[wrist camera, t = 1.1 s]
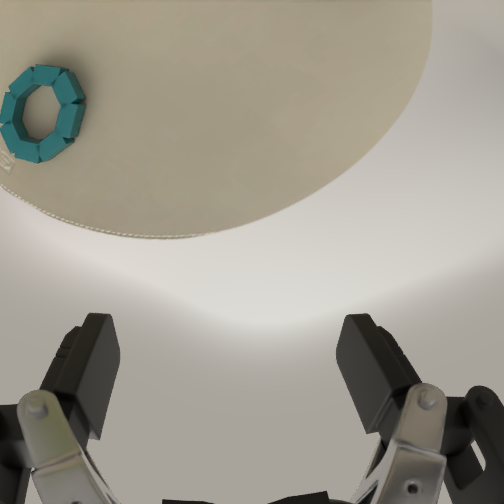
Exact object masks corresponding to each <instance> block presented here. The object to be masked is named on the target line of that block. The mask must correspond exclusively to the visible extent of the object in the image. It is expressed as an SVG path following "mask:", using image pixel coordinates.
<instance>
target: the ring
mask: <svg viewBox="0 0 504 504" xmlns="http://www.w3.org/2000/svg"><path fill="white" fill-rule="evenodd" d="M68 71H69V69H66V68H60V67H53V66H45V65H35V67H29V68H28V69H27V70H26V71H25V72H24V73H22V74H21V75H20V76H19V77H18V78H17V79H16V80H15V81H14V82H13V83H12V84H11V85H10V86H9V89H10V92H5V96H4V100H3V105H2V109H1V114H0V123H2V124H4V125H3V126H2V127H1V128H0V132H1V134H2V136H3V138H4V141H5V143H6V145H7V147H8V149H9V152H10V154H12V153H15V158H18V159H22V160H26V161H30V162H33V163H37V164H38V163H40V162H45V161H48V160H50V159H52V158H54V157H55V156H56V155H58V154H59V153H60V152H61V151H63V150H64V149H65V148H67V147H68V146H69V145H71V144H72V143H73V142H74V141H73V139H72V138H73V137H77V136H78V133H79V129H80V125H81V121H82V117H83V113H84V110H85V106H86V105H85V104H80V102H81V101H82V100H84V99H85V96H84V94H83V92H82V90H81V88H80V85H79V83H78V81H77V79H76V77H75V75H74V73H73V72H68ZM40 85H47V86H52V88H53V90H54V92H55V95H56V97H57V99H58V101H59V103H60V105H61V107H60V111H59V115H58V119H57V123H56V128H55V131H53V132H52V133H51V134H50V135H48V136H47V137H46V138H45V139H43V140H37V139H33V138H29V136H28V134H27V131H26V129H25V127H24V125H23V123H22V120H21V118H22V114H23V109H24V105H25V101H26V98H27V97H28V96H29V95H30V94H31V93H32V92H33V91H35V90H36V89H37V88H38V87H39V86H40Z"/></svg>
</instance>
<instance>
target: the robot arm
mask: <svg viewBox="0 0 504 504" xmlns="http://www.w3.org/2000/svg"><path fill="white" fill-rule="evenodd" d="M336 359H337V364H338V366H339V369H340V371H341V373H342V376H343V378H344V380H345V383H346V385H347V388H348V390H349V392H350V395H351V397H352V399H353V402H354V404H355V407H356V409H357V412H358V414H359V417H360V419H361V421H362V424H363V426H364V429H365V431H366V434H369V433H374V432H379V434H380V436H381V437H380V439H379V440H378V442H377V445H376V448H375V450H374V453H373V455H372V458H371V460H370V463H369V465H368V467H367V470H366V472H365V474H364V477H363V479H362V481H361V483H360V485H359V487H358V489H357V490H356V492H355V493H354V495H353V497H352V498H351V500H350V502H346V501H342V500H334V499H329V498H328V494H327V491H323V492H318V493H312V494H305V495H298V496H291V497H286V498H284V499H281V500H278V501H275V502H272V503H268V504H437V502H438V498H439V494H440V490H441V486H442V482H443V480H444V483H445V485H446V487H447V490H448V493H449V496H450V498H451V501H452V503H453V504H504V406H503V404H502V403H501V401H500V400H499V398H498V396H497V395H496V394H495V393H494V392H493V391H492V390H491V389H489V388H487V387H484V386H474V387H472V388H471V389H470V390H469V391H468V393H467V394H466V396H465V397H446V396H445V394H444V393H443V392H442V391H441V390H440V389H439V388H438V387H436V386H433V385H431V384H428V383H422V381H421V380H420V378H419V376H418V375H417V373H416V372H415V370H414V368H413V367H412V365H411V364H410V362H409V361H408V359H407V357H406V356H405V355H403V351H402V350H401V348H400V347H398V344H397V342H396V341H395V339H394V338H393V336H392V335H391V334H390V333H389V332H388V331H386V330H385V329H384V328H382V327H381V326H376V324H375V323H374V321H373V320H372V318H371V317H370V315H369V314H367V313H365V314H349V315H347V316H346V317H345V319H344V323H343V326H342V330H341V334H340V337H339V341H338V344H337V348H336ZM119 363H120V348H119V344H118V340H117V336H116V332H115V327H114V323H113V319H112V316H111V315H110V314H102V313H89V314H88V315H87V317H86V319H85V321H84V323H83V325H82V327H79V326H75V327H74V328H73V329H72V330H71V331H70V332H69V333H67V335H65V337H64V339H63V341H62V343H61V345H60V348H59V349H58V351H57V353H56V357H54V359H53V361H52V363H51V365H50V367H49V369H48V372H47V373H46V376H45V378H44V380H43V382H42V384H41V386H40V389H39V390H34V391H31V392H29V393H27V394H25V395H24V396H23V397H22V398H21V399H20V401H19V403H18V404H12V405H0V504H24V503H25V497H26V492H27V487H28V482H29V478H30V473H31V475H32V479H33V482H34V484H35V486H36V489H37V492H38V494H39V496H40V499H41V501H42V503H43V504H121V503H120V502H119V501H118V499H117V498H116V497H115V495H114V494H113V492H112V491H111V489H110V487H109V486H108V484H107V483H106V481H105V479H104V478H103V476H102V474H101V473H100V471H99V470H98V468H97V466H96V464H95V462H94V461H93V459H92V457H91V455H90V454H89V452H88V450H87V448H86V446H87V442H88V438H90V439H96V440H100V437H101V433H102V428H103V424H104V420H105V416H106V412H107V408H108V404H109V400H110V397H111V393H112V389H113V386H114V382H115V378H116V375H117V371H118V368H119ZM474 440H475V441H476V442H477V445H478V446H479V448H480V450H481V452H482V454H483V456H484V459H485V461H486V467H485V470H484V471H483V469H482V467H481V465H480V463H479V461H478V459H477V457H476V455H475V453H474V451H473V449H472V446H471V444H472V443H473V441H474ZM32 467H33V468H35V470H34V471H32V472H31V469H32ZM162 504H213V503H208V502H204V501H179V500H165V499H163V500H162Z"/></svg>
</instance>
